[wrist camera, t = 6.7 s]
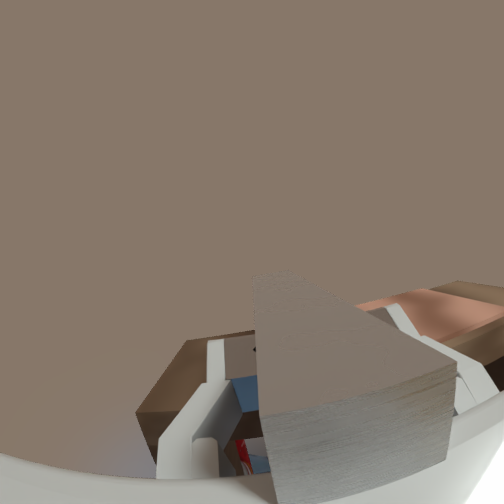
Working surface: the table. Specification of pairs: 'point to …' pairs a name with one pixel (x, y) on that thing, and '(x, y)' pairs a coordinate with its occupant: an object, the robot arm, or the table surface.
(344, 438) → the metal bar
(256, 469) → the table surface
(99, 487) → the robot arm
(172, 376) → the walnut shelf
